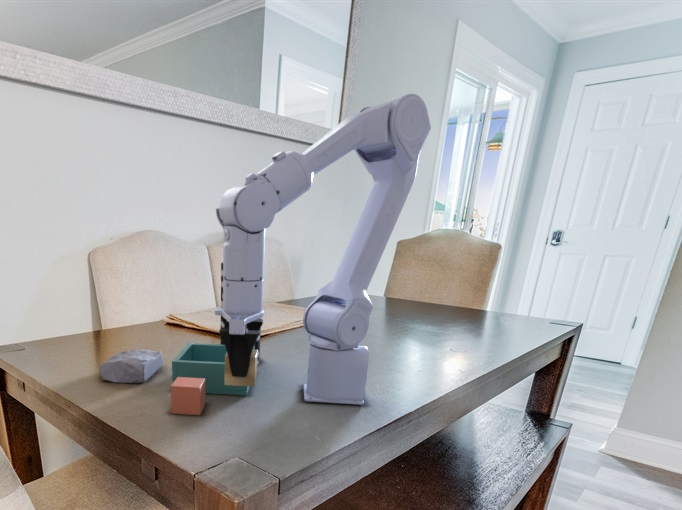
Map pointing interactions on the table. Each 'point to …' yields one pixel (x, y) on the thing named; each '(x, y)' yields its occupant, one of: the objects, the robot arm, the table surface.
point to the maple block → (242, 381)
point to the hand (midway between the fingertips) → (241, 370)
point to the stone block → (131, 366)
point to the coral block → (188, 396)
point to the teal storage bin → (205, 367)
